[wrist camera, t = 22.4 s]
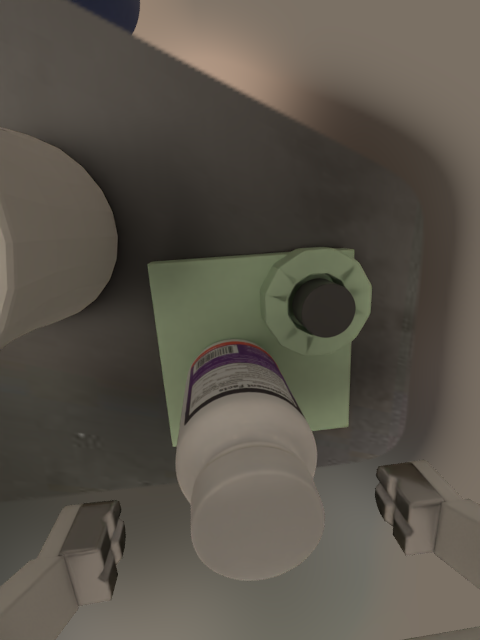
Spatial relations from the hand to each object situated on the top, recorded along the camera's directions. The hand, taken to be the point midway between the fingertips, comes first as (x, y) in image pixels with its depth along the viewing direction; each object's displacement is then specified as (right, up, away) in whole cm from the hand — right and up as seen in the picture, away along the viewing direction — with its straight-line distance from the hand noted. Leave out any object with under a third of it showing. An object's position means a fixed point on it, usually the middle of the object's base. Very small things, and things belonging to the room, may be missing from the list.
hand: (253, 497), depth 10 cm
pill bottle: (-1, +2, +9) cm, 9 cm away
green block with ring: (0, +4, +10) cm, 10 cm away
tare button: (+4, +6, +6) cm, 10 cm away
